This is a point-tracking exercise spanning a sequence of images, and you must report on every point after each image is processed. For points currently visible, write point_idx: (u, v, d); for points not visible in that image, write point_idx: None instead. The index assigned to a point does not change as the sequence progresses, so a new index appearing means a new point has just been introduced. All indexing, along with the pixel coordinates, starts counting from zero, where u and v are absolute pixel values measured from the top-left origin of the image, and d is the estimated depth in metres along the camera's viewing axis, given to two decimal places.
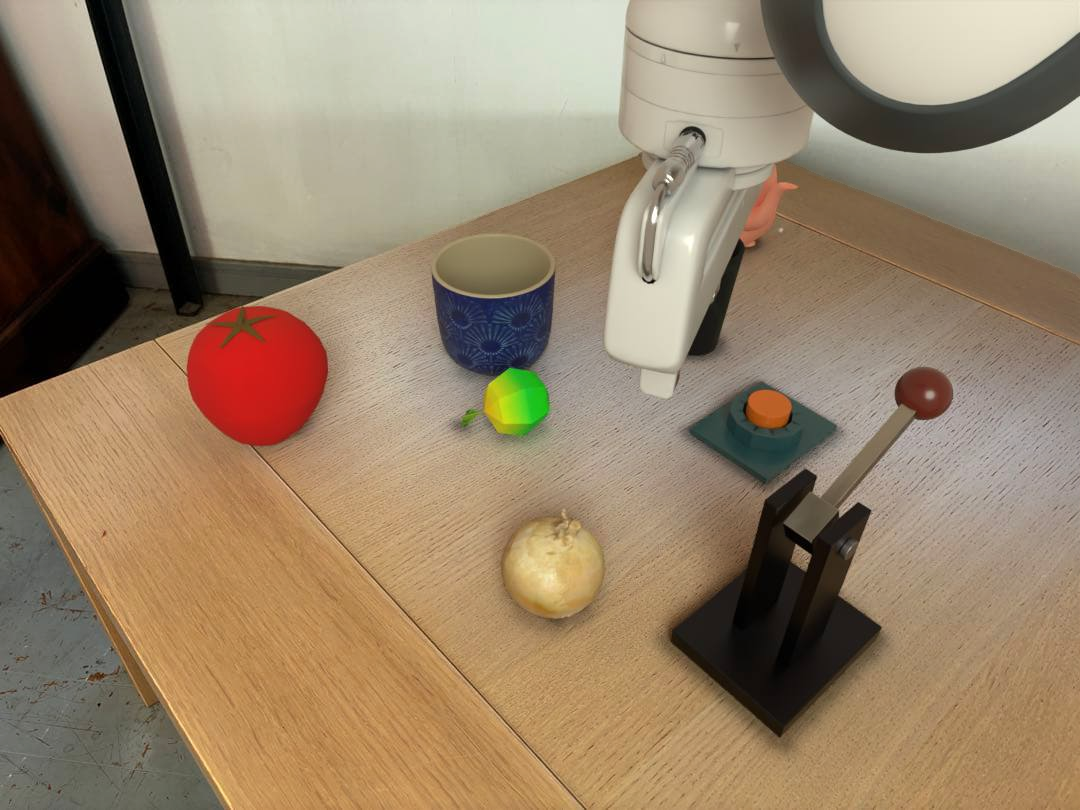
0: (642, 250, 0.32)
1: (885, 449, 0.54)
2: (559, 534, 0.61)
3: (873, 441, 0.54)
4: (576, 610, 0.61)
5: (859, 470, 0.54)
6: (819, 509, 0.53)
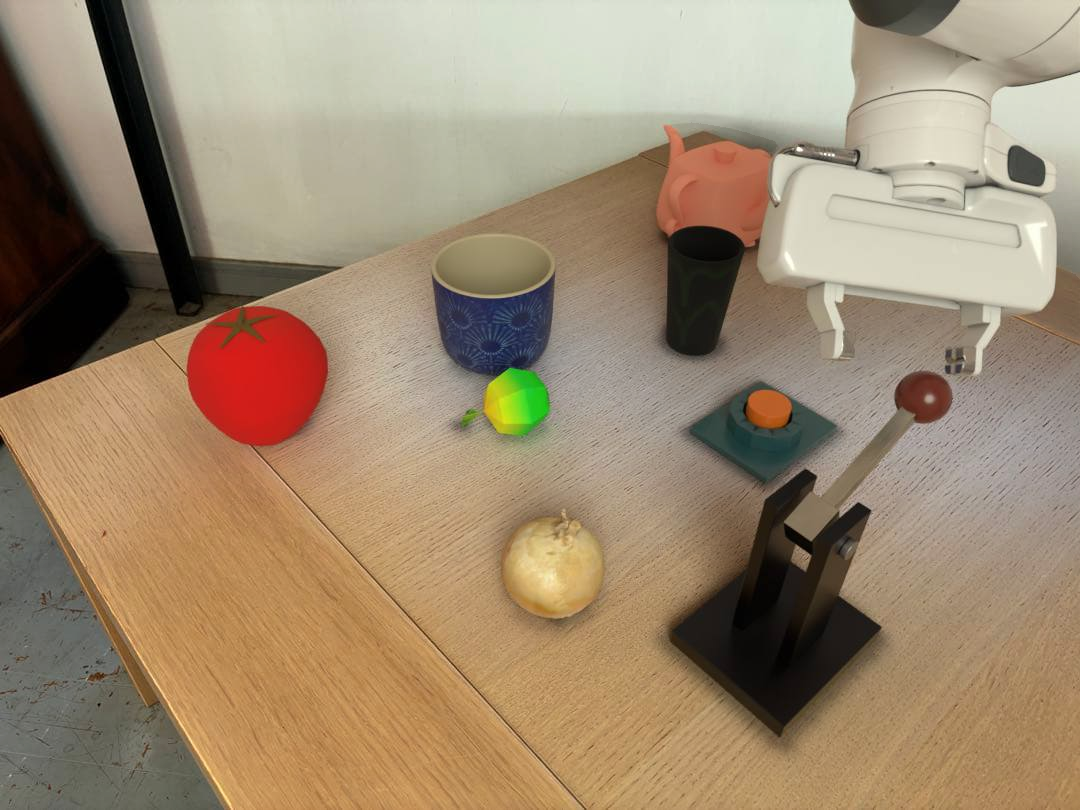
0: (768, 179, 0.53)
1: (885, 451, 0.54)
2: (559, 534, 0.61)
3: (873, 443, 0.55)
4: (576, 610, 0.61)
5: (859, 471, 0.54)
6: (819, 509, 0.53)
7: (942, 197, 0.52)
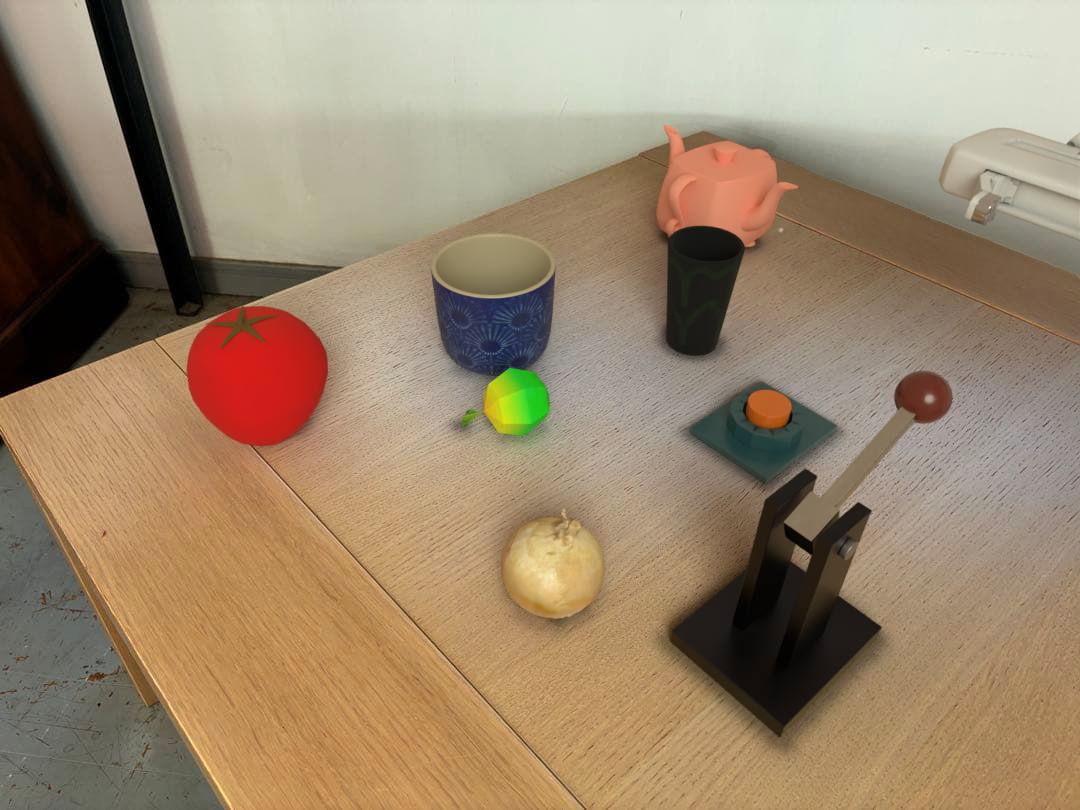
0: None
1: (885, 451, 0.54)
2: (559, 534, 0.61)
3: (873, 443, 0.55)
4: (576, 610, 0.61)
5: (859, 471, 0.54)
6: (819, 509, 0.53)
7: None
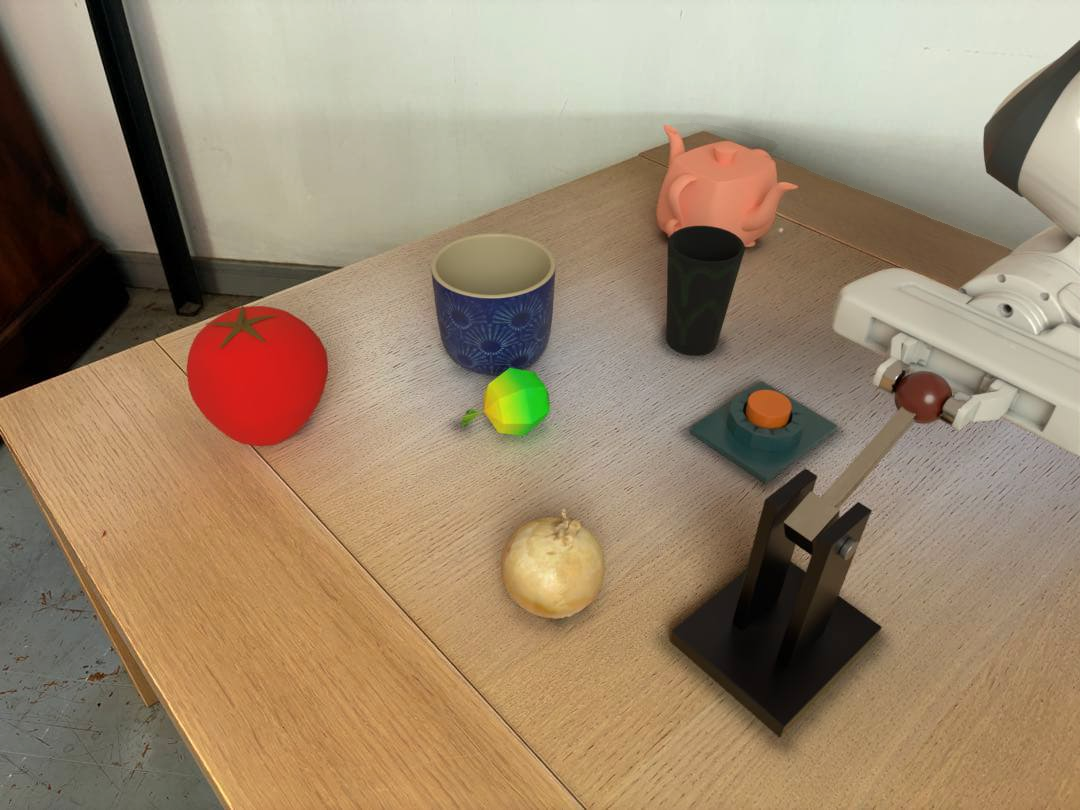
0: None
1: (885, 451, 0.54)
2: (559, 534, 0.61)
3: (873, 443, 0.55)
4: (576, 610, 0.61)
5: (859, 471, 0.54)
6: (819, 509, 0.53)
7: (1007, 303, 0.59)
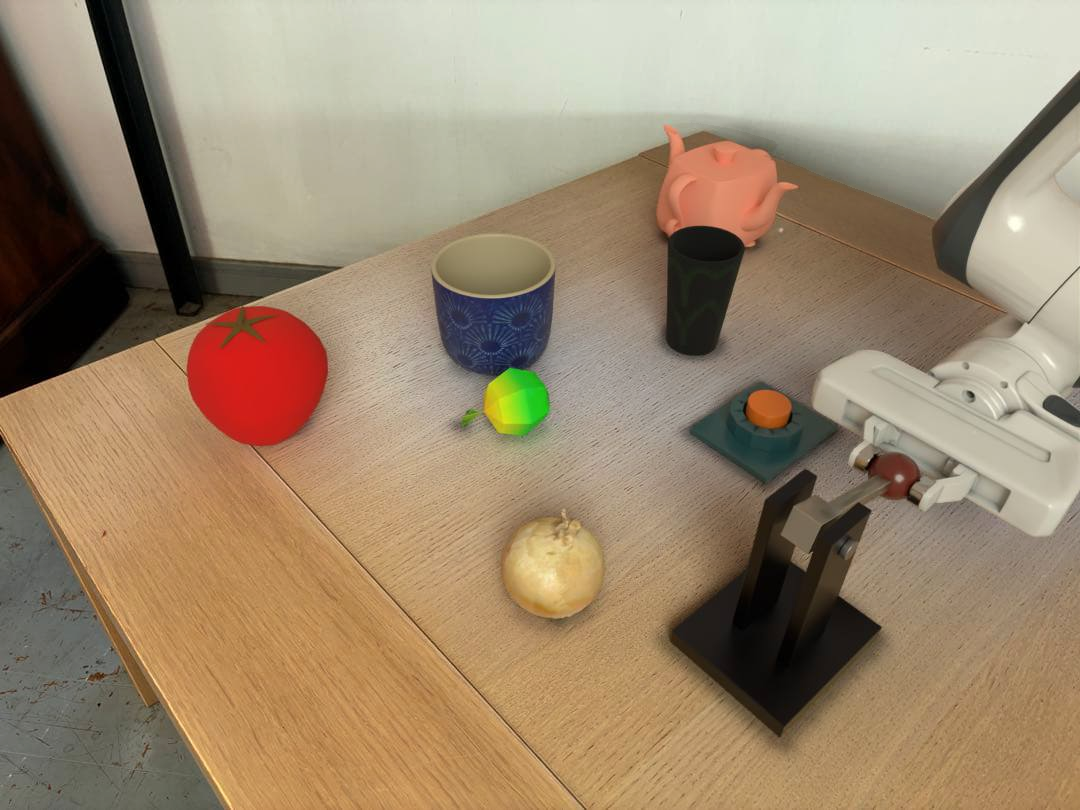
0: None
1: (870, 496, 0.58)
2: (559, 534, 0.61)
3: (861, 486, 0.58)
4: (576, 610, 0.61)
5: (852, 499, 0.56)
6: (825, 507, 0.53)
7: (970, 390, 0.64)
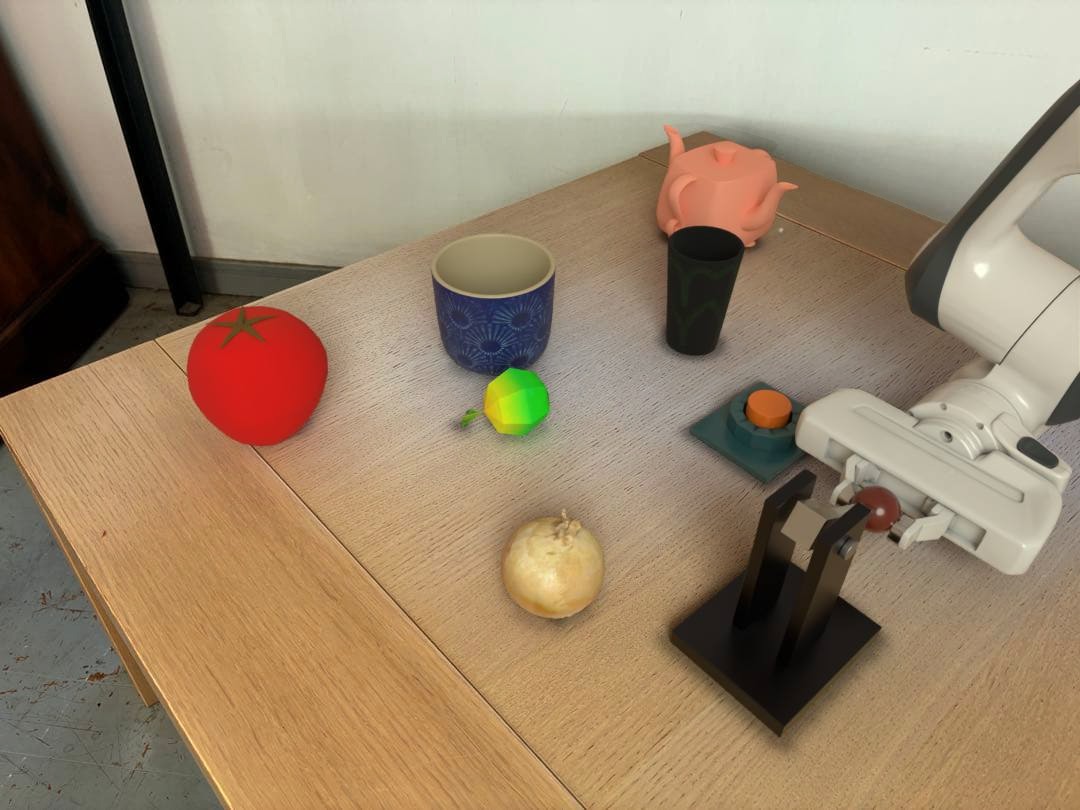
0: None
1: None
2: (559, 534, 0.61)
3: (850, 506, 0.59)
4: (576, 610, 0.61)
5: None
6: (826, 508, 0.54)
7: (948, 430, 0.66)
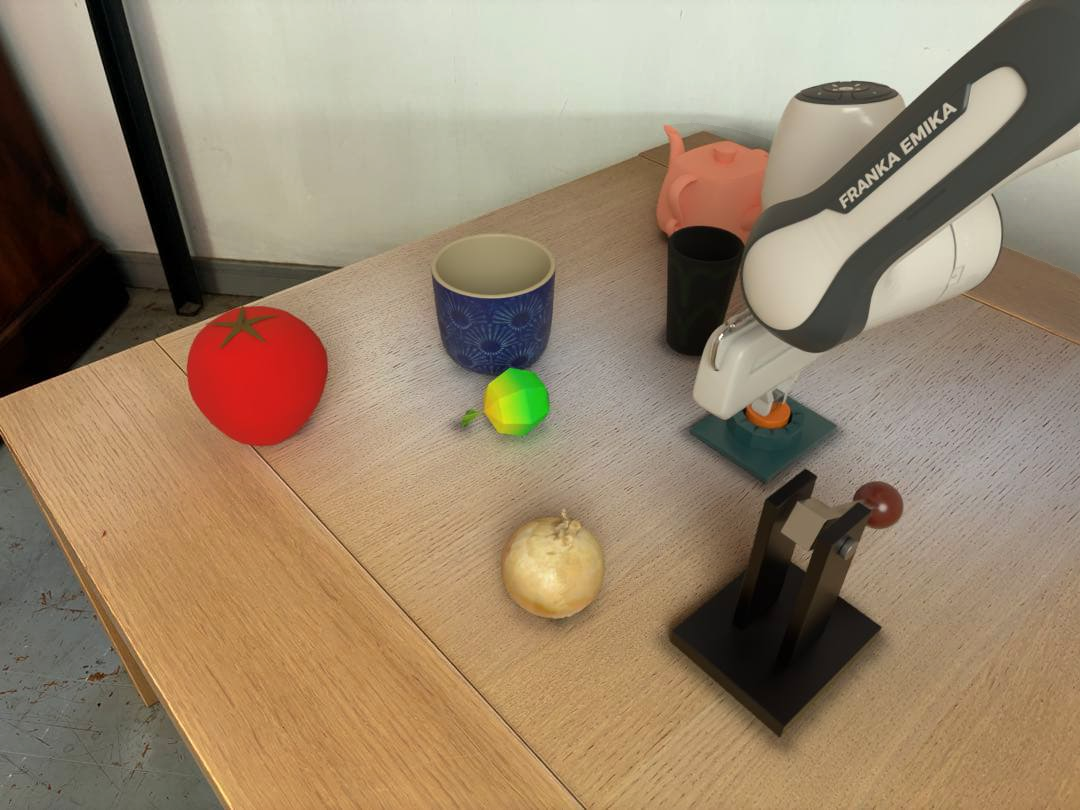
0: (711, 354, 0.65)
1: None
2: (559, 534, 0.61)
3: (852, 504, 0.59)
4: (576, 610, 0.61)
5: (846, 511, 0.57)
6: (826, 508, 0.54)
7: None
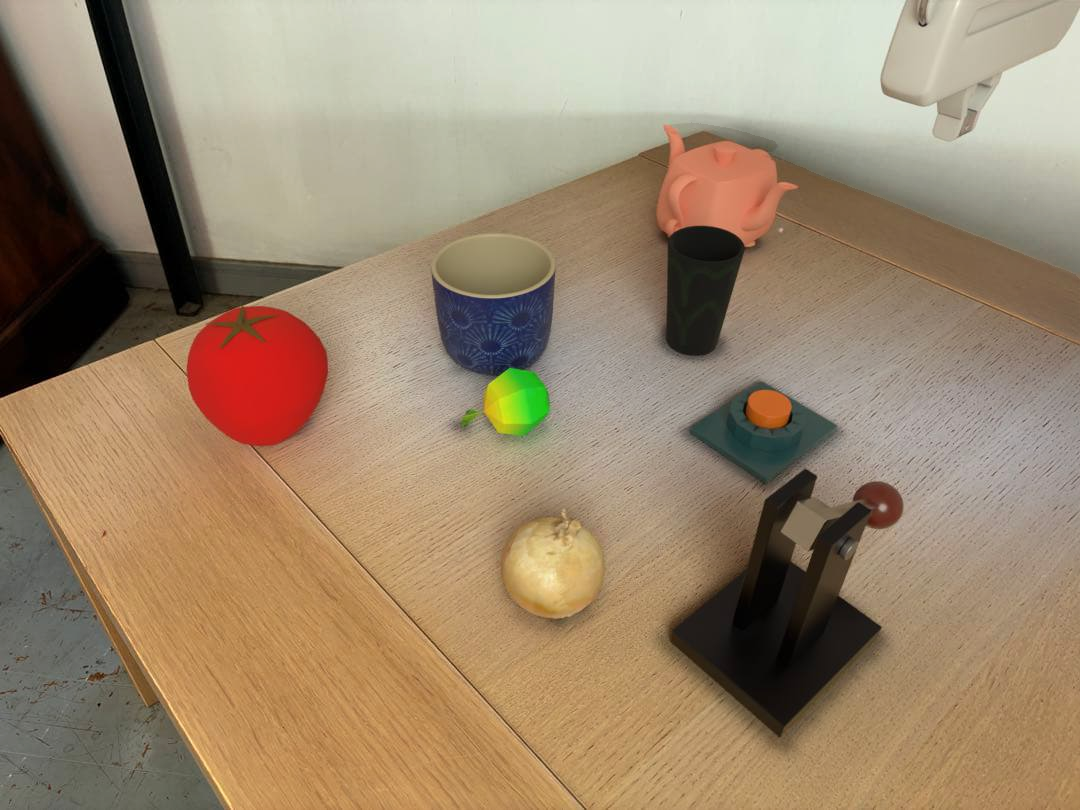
0: None
1: None
2: (559, 534, 0.61)
3: (852, 504, 0.59)
4: (576, 610, 0.61)
5: (846, 511, 0.57)
6: (826, 508, 0.54)
7: None
